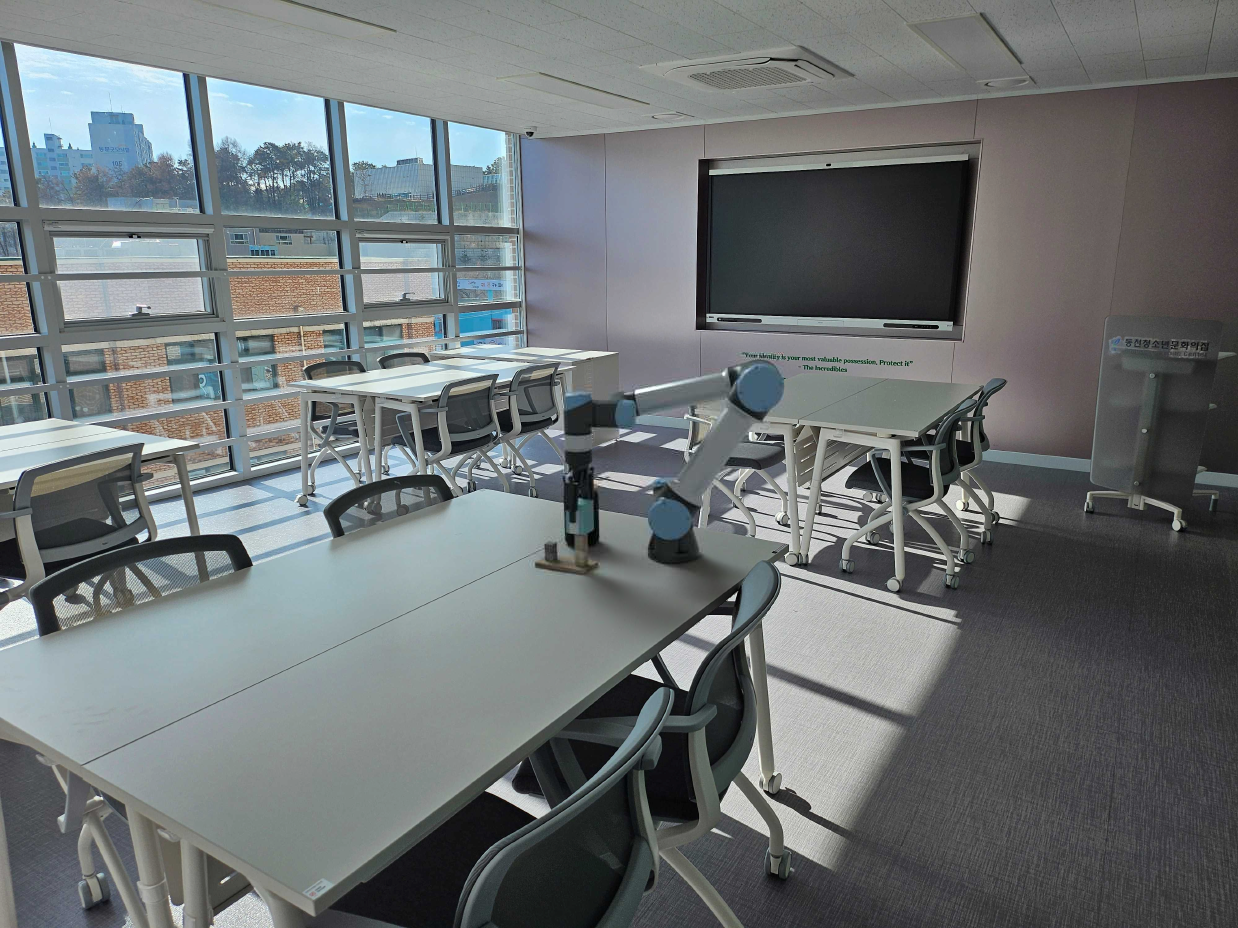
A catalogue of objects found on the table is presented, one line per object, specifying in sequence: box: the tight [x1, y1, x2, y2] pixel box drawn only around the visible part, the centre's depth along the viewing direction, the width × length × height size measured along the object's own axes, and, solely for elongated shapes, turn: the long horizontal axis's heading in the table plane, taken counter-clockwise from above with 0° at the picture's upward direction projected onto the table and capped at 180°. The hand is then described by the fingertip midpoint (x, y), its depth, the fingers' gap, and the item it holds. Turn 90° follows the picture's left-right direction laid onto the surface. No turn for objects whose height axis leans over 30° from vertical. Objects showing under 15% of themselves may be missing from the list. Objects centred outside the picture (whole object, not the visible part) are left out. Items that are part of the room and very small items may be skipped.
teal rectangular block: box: [566, 498, 594, 535], centre depth 231 cm, size 6×6×9 cm
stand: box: [534, 534, 599, 575], centre depth 235 cm, size 8×16×10 cm, turn 63°
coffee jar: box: [562, 483, 601, 548], centre depth 254 cm, size 11×11×18 cm
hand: (580, 530), depth 232 cm, fingers closed on teal rectangular block, 6 cm apart
